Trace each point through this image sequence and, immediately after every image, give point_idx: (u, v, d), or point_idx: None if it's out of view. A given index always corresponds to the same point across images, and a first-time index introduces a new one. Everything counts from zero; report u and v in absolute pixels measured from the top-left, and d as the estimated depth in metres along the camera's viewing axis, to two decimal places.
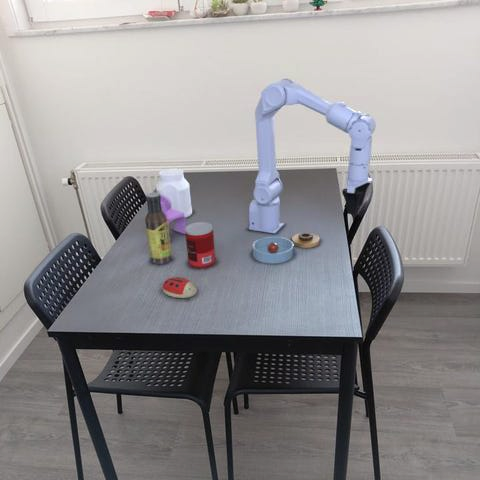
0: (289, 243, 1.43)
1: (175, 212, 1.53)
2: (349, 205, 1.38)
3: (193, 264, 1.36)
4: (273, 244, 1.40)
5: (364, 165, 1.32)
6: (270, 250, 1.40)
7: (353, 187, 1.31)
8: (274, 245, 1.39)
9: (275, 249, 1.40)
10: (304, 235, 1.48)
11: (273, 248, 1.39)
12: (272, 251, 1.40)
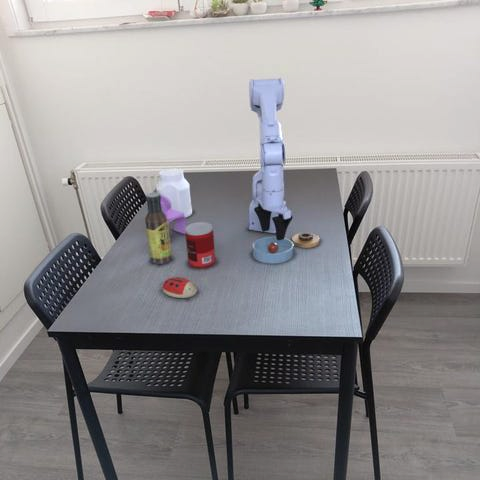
0: (289, 243, 1.43)
1: (175, 212, 1.53)
2: (279, 231, 1.34)
3: (193, 264, 1.36)
4: (273, 244, 1.40)
5: (282, 189, 1.30)
6: (270, 250, 1.40)
7: (290, 212, 1.29)
8: (274, 245, 1.39)
9: (275, 249, 1.40)
10: (304, 235, 1.48)
11: (273, 248, 1.39)
12: (272, 251, 1.40)
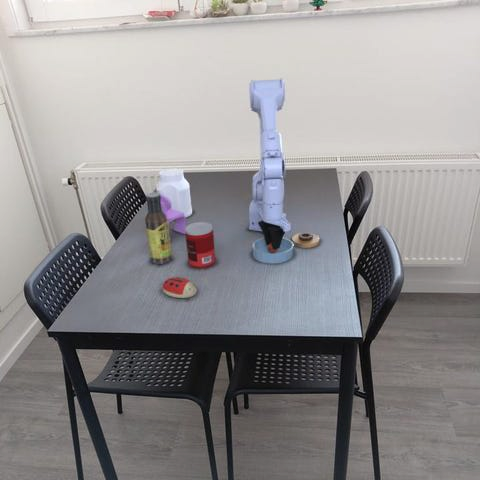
0: (289, 243, 1.43)
1: (175, 212, 1.53)
2: (275, 241, 1.37)
3: (193, 264, 1.36)
4: None
5: (282, 202, 1.32)
6: (270, 250, 1.40)
7: (290, 224, 1.31)
8: None
9: (275, 249, 1.40)
10: (304, 235, 1.48)
11: None
12: (272, 251, 1.40)
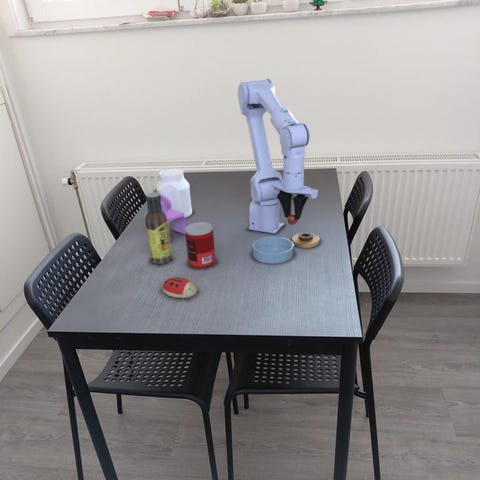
0: (289, 243, 1.43)
1: (175, 212, 1.53)
2: (298, 211, 1.37)
3: (193, 264, 1.36)
4: (293, 215, 1.39)
5: None
6: (292, 221, 1.40)
7: (317, 191, 1.32)
8: None
9: (296, 220, 1.40)
10: (304, 235, 1.48)
11: None
12: (294, 222, 1.40)
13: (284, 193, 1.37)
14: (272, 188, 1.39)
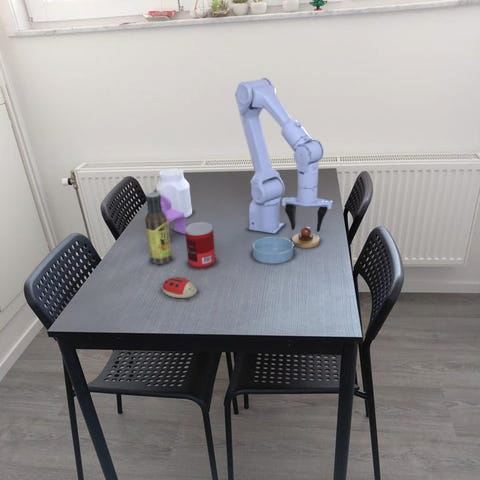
0: (289, 243, 1.43)
1: (175, 212, 1.53)
2: None
3: (193, 264, 1.36)
4: (307, 228, 1.45)
5: None
6: (307, 234, 1.45)
7: (331, 202, 1.39)
8: (309, 229, 1.45)
9: (310, 232, 1.46)
10: None
11: (309, 231, 1.45)
12: (308, 235, 1.46)
13: (291, 207, 1.42)
14: (284, 204, 1.43)
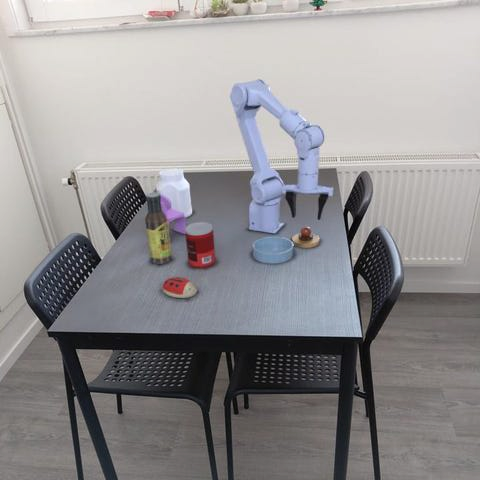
0: (289, 243, 1.43)
1: (175, 212, 1.53)
2: None
3: (193, 264, 1.36)
4: (307, 228, 1.45)
5: None
6: (307, 234, 1.45)
7: (332, 188, 1.37)
8: (309, 229, 1.45)
9: (310, 232, 1.46)
10: None
11: (309, 231, 1.45)
12: (308, 235, 1.46)
13: (291, 194, 1.40)
14: (285, 191, 1.40)
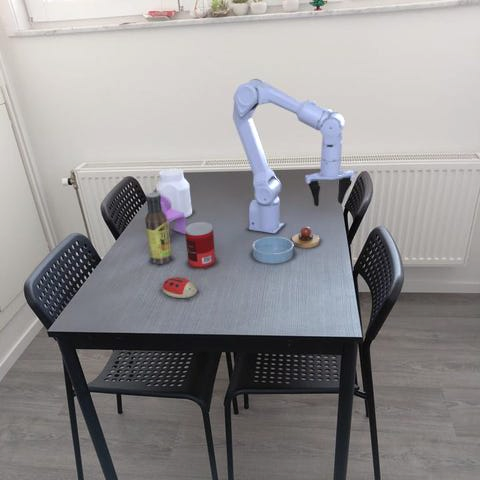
0: (289, 243, 1.43)
1: (175, 212, 1.53)
2: None
3: (193, 264, 1.36)
4: (307, 228, 1.45)
5: None
6: (307, 234, 1.45)
7: None
8: (309, 229, 1.45)
9: (310, 232, 1.46)
10: None
11: (309, 231, 1.45)
12: (308, 235, 1.46)
13: (316, 183, 1.42)
14: (309, 181, 1.41)
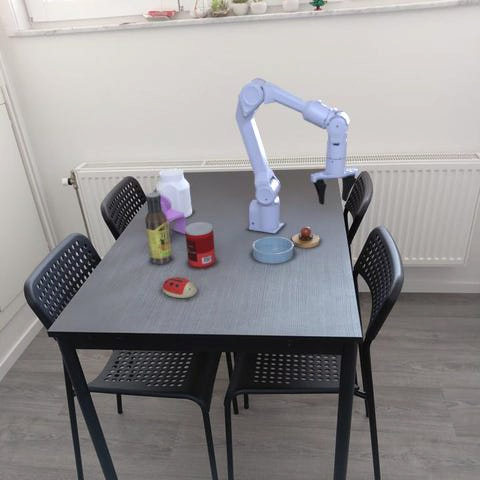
0: (289, 243, 1.43)
1: (175, 212, 1.53)
2: None
3: (193, 264, 1.36)
4: (307, 228, 1.45)
5: None
6: (307, 234, 1.45)
7: None
8: (309, 229, 1.45)
9: (310, 232, 1.46)
10: None
11: (309, 231, 1.45)
12: (308, 235, 1.46)
13: (322, 181, 1.42)
14: (315, 180, 1.42)
